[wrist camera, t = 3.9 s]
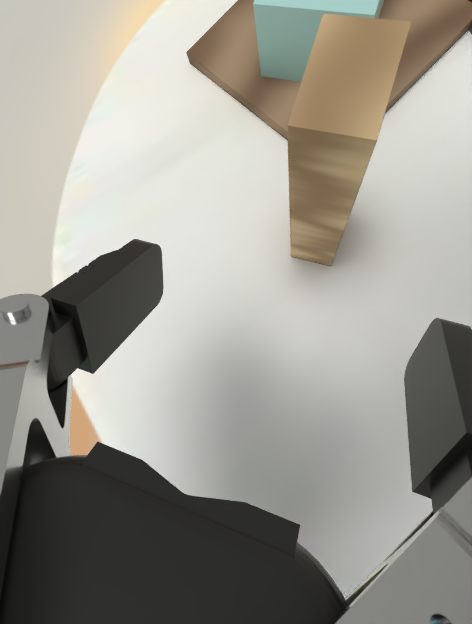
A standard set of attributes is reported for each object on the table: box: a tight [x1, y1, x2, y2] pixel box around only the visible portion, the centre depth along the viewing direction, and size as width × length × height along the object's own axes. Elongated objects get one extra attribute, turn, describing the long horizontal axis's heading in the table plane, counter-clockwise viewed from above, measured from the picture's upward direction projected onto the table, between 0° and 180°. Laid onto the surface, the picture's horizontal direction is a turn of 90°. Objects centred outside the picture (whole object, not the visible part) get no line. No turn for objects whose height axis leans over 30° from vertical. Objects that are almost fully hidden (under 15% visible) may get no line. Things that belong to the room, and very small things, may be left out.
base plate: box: [186, 0, 472, 140], centre depth 27 cm, size 16×16×1 cm
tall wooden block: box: [287, 13, 411, 266], centre depth 18 cm, size 3×4×14 cm, turn 162°
